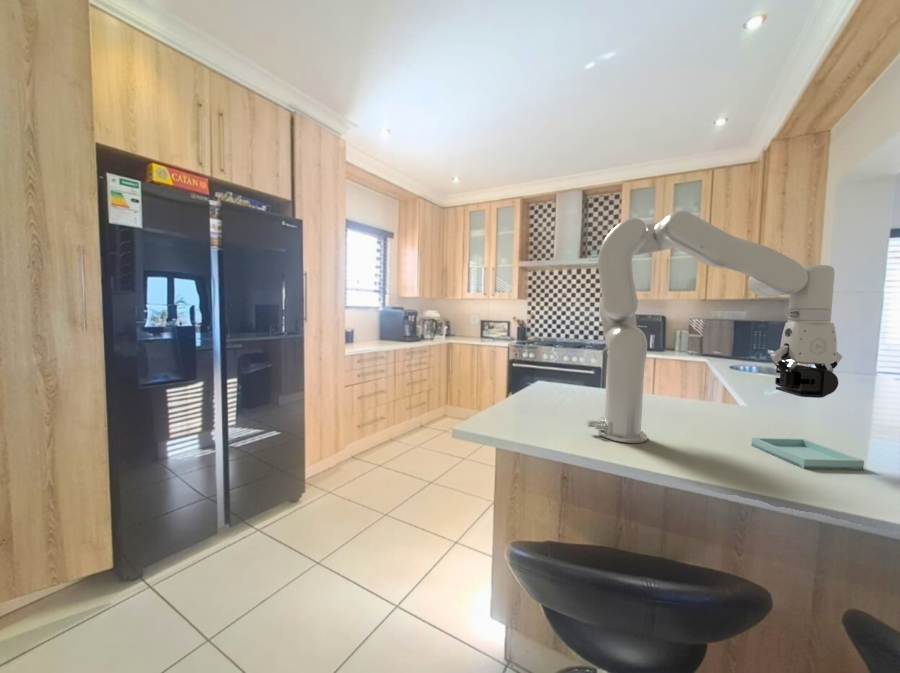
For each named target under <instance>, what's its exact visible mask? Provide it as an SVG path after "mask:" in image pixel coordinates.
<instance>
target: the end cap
mask: <svg viewBox="0 0 900 673" xmlns="http://www.w3.org/2000/svg"><path fill="white" fill-rule="evenodd" d="M792 372H793V373H794V374H795V377H794V388H793V389H789V388H785V387H780V385H779V384H780V377H775V378H774V379H775V385H777V386H776V387H775V390H777V391H779V392H783V393H787V394H789V395H795V396H796V397H800V398H813V399H814V398H817V399H821V398H825V397H826V396H828V395H830V394H833V393H834V392H835V391H836V390H837V389H838V386H839V379H838V376H837V375H836V374H835V373H834V371H833V372H831V371H829V370H824V369H819V368H816V367H813V366H809V365H808V366H807V365H803V364H797V365H796V367H795V368H794V369H793V371H792ZM775 373H777V374H780V371H779V370H778V367H777V366H776V369H775Z"/></svg>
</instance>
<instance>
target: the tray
mask: <svg viewBox="0 0 900 673" xmlns="http://www.w3.org/2000/svg"><path fill="white" fill-rule="evenodd" d="M751 446H752V447H754V448H756V449H758V450H760V451H762V452H765V453H768V454H769V455H772V456H774V457H777V458H778V459H780V460H783V461H785V462H788V463H789V464H792V465H794V466H796V467H799V468H801V469H804V470H840V471H843V470H846V471H849V470H851V471H864V467H865V460H863V459H861V458H858V457H855V456H852V455H849V454H847V453H844V452H841V451H838V450H835V449H833V448H831V447H830V448H829V447H827V446H824V445H822V444H819V443H816V442H813V441H810V440H807V439H806V438H794V437H793V438H791V437H788V438H786V437H751Z"/></svg>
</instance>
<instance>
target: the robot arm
mask: <svg viewBox="0 0 900 673" xmlns="http://www.w3.org/2000/svg"><path fill="white" fill-rule="evenodd" d="M674 248H677V249H679V250H680V251H682V252H684V253H686V254H687V255H689V256H691V257H693V258H694V259H696V260H698V261H699V262H701V263H703V264H705V265H707V266H710V267H713V268H719V269H725V270H731V271H735V272H738V273H741V274H743V275H746V276H748V277H749V278H748V280H747V286H748V289H749V291H751V293H753V294H755V295H757V296H760V297H765V298H766V297H778V296H789V297H788V298H789V300H788V301H789V302H788V311H787V312H786V313H785V317H786V318H787V322H785V324H784V327H783V330H782V335H781V340H780V347H779V348H778V349H777V350H775V351H774V352H772V353H770V355H769V357H770V358H771V360H772V362H773V364H774V365H775V366H776V368H777V367H778V370H779V371H780V373H779V378H780V384H779V385H780V386H779V387H785V388H789V389H793V388H794V377H795V374H794V373H793V372H792V371H793V369H794V368H795V367H796V365H799V364H800V365H803V364H805V365H806V364H807V365H808V364H809V365H811V364H812V365H814V368H819V369H824V370H829V371H831V372H833V373H834V369H835V368H836V367H837V366H838V364H839V363H840V361H841V360H842V358H843V355H842V354H841V353H839V352H838V351H837V350H838V349H837V343H838V342H837V332H836V327H835V323H834V322H832V309H833V299H834V287H835V286H834V285H835V268H834V267H833V266H831V265H828V264H811V265H802V264H801V263H799V262H798V261H796V260H794V259H792V258H791V257H789V256H787V255H785V254H783V253H781V252H779V251H778V250H776V249H774V248H771V247H768V246H765V245H763V244H759V243H756V242H753V241H750V240H746V239H744V238H741V237H737V236H734V235H732V234H730V233H728V232H727V231H725V230H723V229H721V228H719V227H717V226H715V225H713V224H711V223H709V222H708V221H706V220H704V219H703V218H700V217H699V216H697V215H695V214H693V213H691V212H689V211H686V210H676V211H675V210H674V211H672V212H671V213H669V214H667V215H666V216H665V217H664V218H663V219H661V220H659V221H656V222H651V223H646V222H645V221H644V220H643V219H640V218H636V217H630V218H626V219H624V220H622V221H621V222H619V223H618V224H617V225H615V227H613V228H612V229H611V230H610V231H609V233H607V235H606V236H605V238H604V239H603V242H602V244H601V246H600V250H599V253H598V260H597V261H598V262H597V266H598V267H597V268H598V269H597V270H598V276H599V285H600V291H601V298H600V301H599V312H600V320H601V324H602V325H601V326H602V330H603V337H604V341H605V342H604V343H605V344H606V345H605V346H606V347H607V360H606V372H605V374H606V376H605V395H604V396H605V397H604V400H605V401H604V416H601V417H600V419H597V420H592V419H591V420H589V419H588V420H586V426H587V428H594V429H595V430H597V433H598V435H600V436H601V437H603V438H605V439H608V440H611V441H615V442H621V443H625V444H626V443H628V444H638V443H644V442H646V441H647V440H648V435H647V433H645V431H642V421H643V420H642V419H643V417H642V416H643V399H644V379H645V378H644V377H645V366H646V360H647V353H648V340H647V337H646V334H645V333H644V331H643V330H642V329H641V328H639V327H638V324H637V318H636V317H637V316H636V312H637V310H638V307H639V300H638V296H637V291H636V287H635V286H636V285H635V282H634V281H635V280H634V274H633V264H632V262H633V258H634V256H637V255H638V256H639V255H644V254H650V253H656V252H661V251H665V250H666V251H667V250H671V249H674Z"/></svg>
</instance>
